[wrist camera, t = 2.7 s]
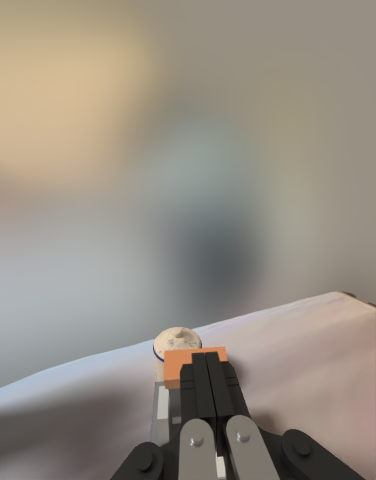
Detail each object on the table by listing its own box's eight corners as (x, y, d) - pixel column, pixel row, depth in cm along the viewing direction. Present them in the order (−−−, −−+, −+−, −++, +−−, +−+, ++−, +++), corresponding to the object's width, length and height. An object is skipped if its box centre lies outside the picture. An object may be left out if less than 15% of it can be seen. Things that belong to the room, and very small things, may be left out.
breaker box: (244, 541, 23) (250, 456, 20) (150, 553, 22) (142, 466, 19) (220, 422, 34) (221, 357, 31) (158, 427, 34) (154, 361, 31)
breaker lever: (213, 422, 26) (230, 376, 17) (171, 426, 25) (163, 381, 16) (210, 398, 28) (224, 345, 18) (170, 401, 27) (164, 349, 18)
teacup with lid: (209, 394, 39) (209, 340, 36) (160, 411, 36) (157, 353, 34) (188, 349, 50) (187, 305, 48) (150, 359, 47) (146, 313, 45)
